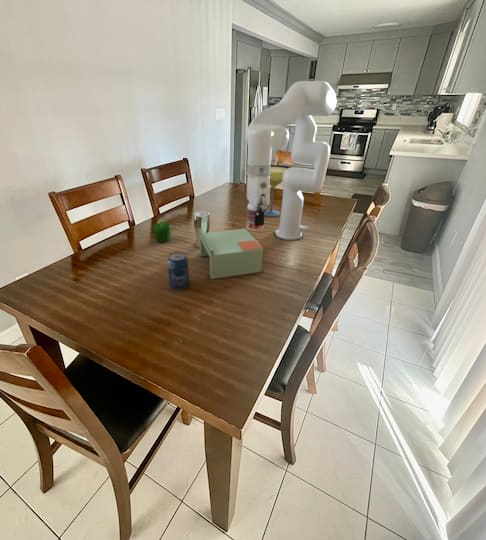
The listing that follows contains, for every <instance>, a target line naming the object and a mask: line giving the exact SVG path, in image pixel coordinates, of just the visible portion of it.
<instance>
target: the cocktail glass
mask: <svg viewBox="0 0 486 540" xmlns="http://www.w3.org/2000/svg"><path fill="white" fill-rule="evenodd" d="M288 168H291V167H290V166H285V165H280V164H279V165H275V164H271V167H270V175H269V178H270V188H272V193H271V203H270V208H269V209H267V210H266V212H265V215H264V217H268V218H276V217H279V216H281V211H278V210H274V209H273V205H274V204H273V203H274V193H275V192H274V190H275V188H276V187H277V186H278V185H281V184H283V174H284V172H285V170H286V169H288Z"/></svg>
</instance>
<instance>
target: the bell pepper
mask: <svg viewBox="0 0 486 540" xmlns="http://www.w3.org/2000/svg"><path fill="white" fill-rule="evenodd" d="M152 232H153V236H154V238H155V241H157V242H158V243H164V242H169V241H170V239H171V237H172V226H171V223H168V222H167V220H166V219H165V220H162V221H160V222H159V223H158V222H157V223H154V224H153V226H152Z"/></svg>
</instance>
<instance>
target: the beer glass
mask: <svg viewBox="0 0 486 540" xmlns="http://www.w3.org/2000/svg"><path fill="white" fill-rule="evenodd" d="M210 221H211V220H210V213H209V212H208V211H202V210H201V211H196V212H194V213H193V229H194V233H195V238H196V241H195V247H197V248H199V249H200V237H199V229H202V230H203V232H204V233H209V232H210V228H211V227H210V226H211V222H210Z"/></svg>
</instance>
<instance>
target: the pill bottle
mask: <svg viewBox="0 0 486 540" xmlns="http://www.w3.org/2000/svg"><path fill="white" fill-rule="evenodd" d="M258 205H262V204H258ZM261 208H262V207H259V210H260V209H261ZM255 215H256V206H254V205H253V203H252V199H251V198H250V197H249V204H248V203H247V207H246V230H249V231H252V232H257V231H258V232H260V231H262V230H264V226H265V224H264V225H260V226H255Z"/></svg>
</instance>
